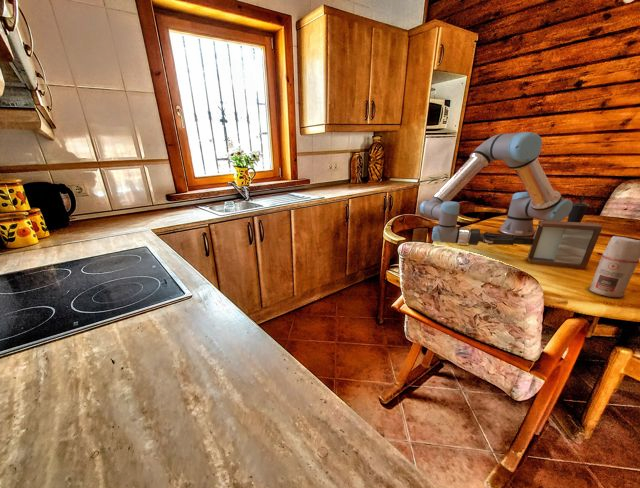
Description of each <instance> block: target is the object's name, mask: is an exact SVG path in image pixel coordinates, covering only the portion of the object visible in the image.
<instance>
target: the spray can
mask: <svg viewBox="0 0 640 488" xmlns="http://www.w3.org/2000/svg"><path fill="white" fill-rule="evenodd" d="M639 262H640V239H633V238H630V237H625V236H619V235H613V236H612V237H611V238H610V240H609V241H608V244H607V245H606V247H605V249H604V250H603V252H602V255H601V258H600V260H599V263H598V265H597V267H596V270H595V273H594V276H593V278H592V281H591V284H590V287H589V288H588V290H589V291H590V292H592V293H594V294H596V295H601V296H605V297H608V298H622V297H624V296H625V295H624V293H625V292H626V290H627V288H628V285H629V283H630V281H631V279H632V276H633V274H634V272H635V270H636V268H637V266H638V265H639Z"/></svg>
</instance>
